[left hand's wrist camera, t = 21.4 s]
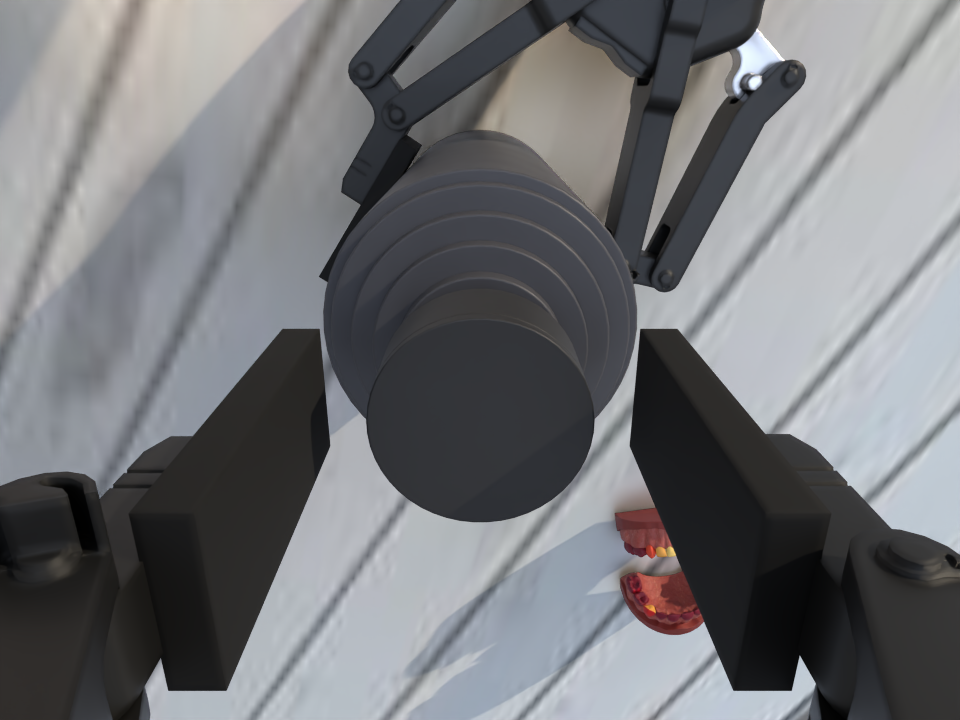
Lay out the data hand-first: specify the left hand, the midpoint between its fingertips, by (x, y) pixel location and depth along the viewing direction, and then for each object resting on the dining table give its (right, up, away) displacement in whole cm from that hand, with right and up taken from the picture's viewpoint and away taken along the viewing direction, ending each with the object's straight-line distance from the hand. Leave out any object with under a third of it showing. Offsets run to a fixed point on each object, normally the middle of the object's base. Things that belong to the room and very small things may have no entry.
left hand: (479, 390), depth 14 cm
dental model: (+11, -11, +28) cm, 32 cm away
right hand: (-3, +2, +16) cm, 16 cm away
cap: (0, -1, -1) cm, 1 cm away
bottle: (0, +8, +20) cm, 22 cm away
